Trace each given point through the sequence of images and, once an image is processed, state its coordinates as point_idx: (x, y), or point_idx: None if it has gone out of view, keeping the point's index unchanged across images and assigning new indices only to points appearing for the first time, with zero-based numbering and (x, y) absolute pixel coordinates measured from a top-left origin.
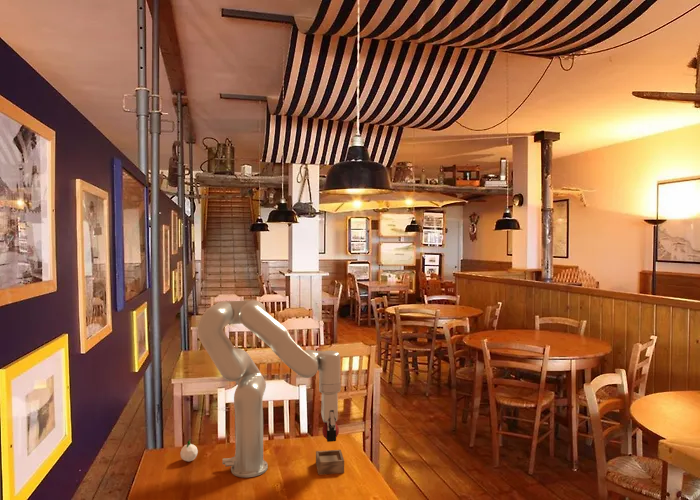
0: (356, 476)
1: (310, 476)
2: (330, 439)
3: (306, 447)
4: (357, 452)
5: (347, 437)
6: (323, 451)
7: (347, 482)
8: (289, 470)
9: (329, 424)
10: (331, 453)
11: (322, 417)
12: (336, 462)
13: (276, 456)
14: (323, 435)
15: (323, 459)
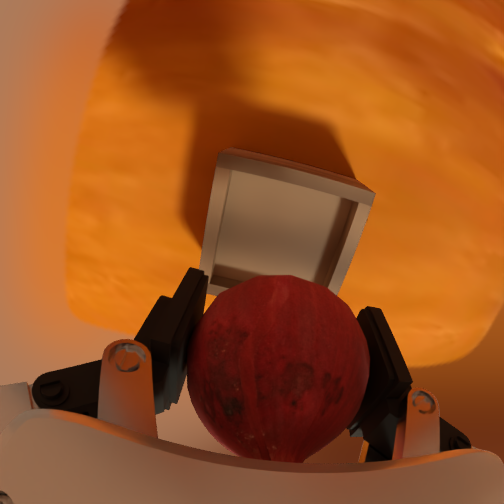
0: (169, 290)
1: (228, 107)
2: (162, 300)
3: (490, 203)
4: None
5: (455, 355)
6: (353, 233)
7: (133, 244)
8: (328, 36)
9: (224, 424)
10: (331, 267)
11: (266, 497)
12: (202, 252)
13: (469, 55)
14: (282, 276)
15: (291, 205)
